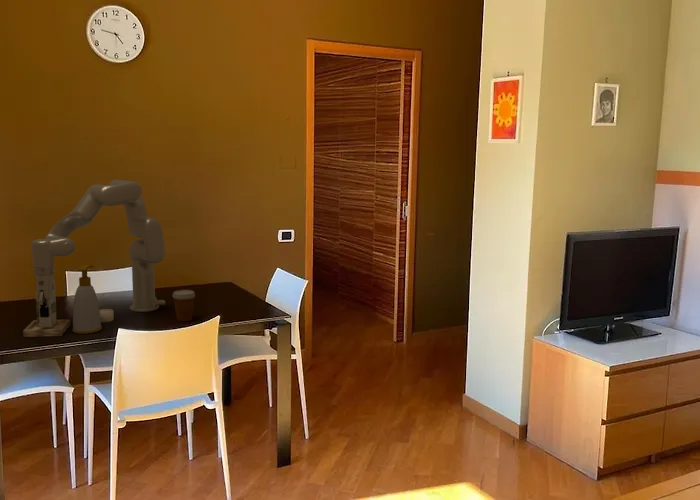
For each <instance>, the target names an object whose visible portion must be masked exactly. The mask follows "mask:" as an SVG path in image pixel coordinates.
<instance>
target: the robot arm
mask: <svg viewBox="0 0 700 500" xmlns="http://www.w3.org/2000/svg"><path fill="white" fill-rule="evenodd" d="M142 195H143V189H142V186H141V185H140V184H139V183H138V182H136V181H132V180H124V179H113V180H112V181H110V182H109V183H108V185H107V184H101V183H99V184H98V183H97V184H91V185H90V186H89V187H88V188H87V190H86V191H85V193H84V194H83V196H81V198H80V199H79V201H78V202H77V204H76V205H75V206H74V207H73V209H72V210H71V212H69V213H68V214H66V215H65V216H64V217H62V218H60V220H58V221H57V222H56V223H55V224H54V225H53V226H52V227H51V229H50V230H49V232H48V233H47V234H46V236H45V238H38V239H34V240H32V242H31V251H32V253H31V254H32V268H33V269H32V270H33V276H35V277H36V278H35V280H36V281H35V283H36V284H35V286H36V289H35V290H36V291H35V293H36V292H37V299H38V298H39V299H38V300H39V307H40V317H49V307H48V300H51V299H52V298H53V291H54V289H55V296H56V295H57V291H56V289H57V288H56V282H55V273H56V272H55V260H54V258H55V257H68V256H71V255H72V254H73V253H74V252H75V250H76V244H75V241H74V240H72V239H71V238H69V235H71V234H72V233H73V232H74V231H76V230H78V229H81V228H83V227H86V226H88V225H90V224H91V223H92V221H93V220H94V219H95V218H96V216H97V215H98V213H99V211H100V210H101V209H102V207H103V206H104V207H114V206H120V205H123V207H124V210H125V215H126V216H125V217H126V221H127V227H128V232H129V234H130V235H131V236H133V237H135V238H138V239H135V240H133V241H132V242H131V243H130V245H129V249H128V252H129V253H128V254H129V259H130V262H131V278H132V280H131V281H132V302H133V303H132V304H131V305H130V306H129V310H130V311H132V312H139V313H140V312H141V313H142V312H143V313H144V312H145V313H146V312H147V313H148V312H154V311H156V310H158V309H159V308H160V306H161V305H162V306H165V305H166V300H163V299H157V296H156V290H155V287H156V286H155V281H156V280H155V266H154V264H158V263H160V262H162V261H163V260H164V258H165V254H166V247H165V245H166V244H165V240H164V233H163V229H162V225H161V223H160V222H159V221H158V220H157V219H156V218H153V217H149V216H148V214H147V209H146V206H145V205H146V204H145V201H144V199H143V197H142ZM43 298H46V299H44V300H43ZM44 301H46V303H45V302H44Z"/></svg>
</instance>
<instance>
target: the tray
mask: <svg viewBox="0 0 700 500" xmlns="http://www.w3.org/2000/svg"><path fill="white" fill-rule="evenodd" d="M70 326H71V320H70V319H57V323H56V324H55V325H54V326H53V327H37V319H36V320H35V319H34V320H32V321H31V322H30V323H29V324H28V325H27V326H26V327H25V328H24V329H23V330H22V333H23V335H22V337H24V338H29V337H31V338H32V337H34V338H35V337H62V336H63V335H64V334H63V333H66V331H67V330H68V329H67V328H69V327H70Z"/></svg>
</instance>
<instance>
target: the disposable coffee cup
mask: <svg viewBox="0 0 700 500" xmlns="http://www.w3.org/2000/svg"><path fill="white" fill-rule="evenodd" d="M195 297H196V294H195V291H194V290H191V289H180V290H175V291H173V293H172V298H173V301H174V302H173V304H174V309H175V316H176V321H178V322H189V321H192V320H193V312H194V304H195V303H194V302H195Z"/></svg>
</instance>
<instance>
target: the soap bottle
mask: <svg viewBox="0 0 700 500" xmlns="http://www.w3.org/2000/svg"><path fill="white" fill-rule="evenodd" d="M88 268H94V265H92V264H91V265H90V264H89V265H88V264H85V265H80V266H79V267H78V268H77V269H76V271H77V272H81V276H79V278H78V287H77V288H76V291H75V293H74V300H73V309H72V325H73V326H72V332H73V333H74V334H80V335H87V334H88V333H89V334H95V333H97V332H100V331H101V330H102V329H103V328H102V327H103V326H102V325H101V324H102V322H101V319H100V311H99V310H100V306H99V300H98V297H97V294H96V291H95V289H94V286H93V285H92V282H91V276H88ZM94 332H95V333H94Z"/></svg>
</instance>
